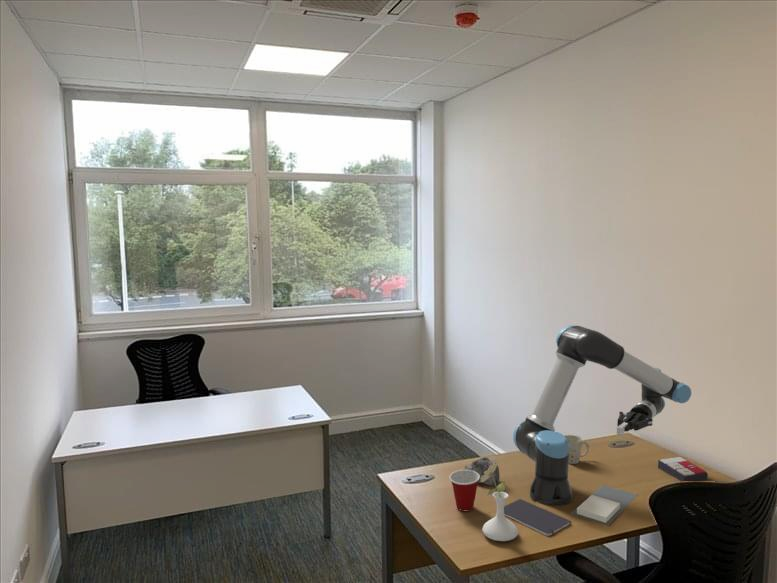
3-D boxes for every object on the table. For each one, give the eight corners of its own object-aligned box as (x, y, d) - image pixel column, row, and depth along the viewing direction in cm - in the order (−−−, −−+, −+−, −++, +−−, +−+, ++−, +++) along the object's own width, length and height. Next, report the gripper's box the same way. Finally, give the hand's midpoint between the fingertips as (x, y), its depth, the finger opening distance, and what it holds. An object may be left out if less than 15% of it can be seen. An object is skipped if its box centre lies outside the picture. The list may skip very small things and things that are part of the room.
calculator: (685, 475, 225) (657, 458, 240) (684, 485, 226) (657, 468, 240) (708, 471, 228) (680, 455, 242) (707, 481, 229) (679, 465, 243)
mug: (557, 458, 250) (557, 436, 249) (582, 455, 254) (582, 432, 253) (568, 466, 242) (569, 443, 241) (594, 462, 246) (595, 439, 245)
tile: (591, 500, 211) (576, 514, 201) (591, 494, 211) (576, 508, 201) (619, 509, 204) (605, 523, 195) (620, 503, 204) (606, 517, 194)
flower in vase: (502, 523, 197) (503, 451, 194) (525, 539, 187) (526, 463, 184) (471, 533, 191) (471, 459, 188) (493, 550, 181) (493, 472, 178)
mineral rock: (460, 478, 232) (460, 454, 231) (480, 472, 238) (480, 448, 237) (483, 490, 222) (483, 465, 220) (503, 483, 228) (504, 458, 226)
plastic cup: (443, 503, 211) (443, 472, 210) (470, 498, 215) (470, 467, 214) (457, 517, 201) (457, 484, 200) (485, 511, 205) (485, 479, 204)
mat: (570, 515, 202) (570, 513, 202) (602, 486, 224) (602, 484, 224) (607, 527, 194) (608, 525, 193) (637, 496, 215) (637, 494, 215)
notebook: (571, 525, 196) (519, 502, 213) (571, 520, 196) (520, 498, 212) (548, 538, 188) (496, 513, 205) (548, 533, 188) (497, 509, 204)
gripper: (659, 425, 229) (636, 445, 212) (626, 418, 238) (601, 436, 221) (660, 407, 227) (637, 426, 211) (626, 400, 236) (601, 417, 219)
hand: (618, 431), depth 216 cm, fingers closed
